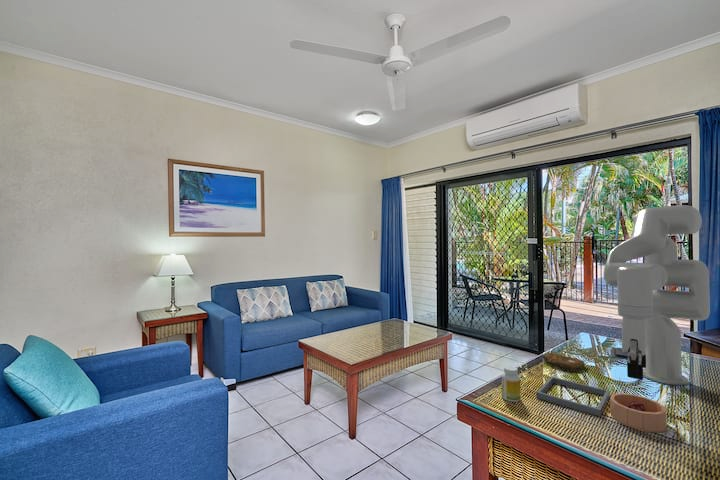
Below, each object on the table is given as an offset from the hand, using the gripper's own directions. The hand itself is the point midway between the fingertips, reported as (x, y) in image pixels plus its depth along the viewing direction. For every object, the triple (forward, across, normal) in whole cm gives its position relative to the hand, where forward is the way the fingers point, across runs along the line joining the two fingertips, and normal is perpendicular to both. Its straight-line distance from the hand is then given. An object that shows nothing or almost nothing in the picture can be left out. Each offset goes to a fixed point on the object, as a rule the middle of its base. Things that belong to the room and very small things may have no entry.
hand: (637, 372), depth 91 cm
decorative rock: (+15, -31, -26) cm, 43 cm away
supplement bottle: (+13, +11, -30) cm, 35 cm away
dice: (+12, +1, 0) cm, 12 cm away
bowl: (+13, +1, 0) cm, 13 cm away
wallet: (+16, -64, -4) cm, 66 cm away
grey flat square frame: (+13, -3, -16) cm, 21 cm away
